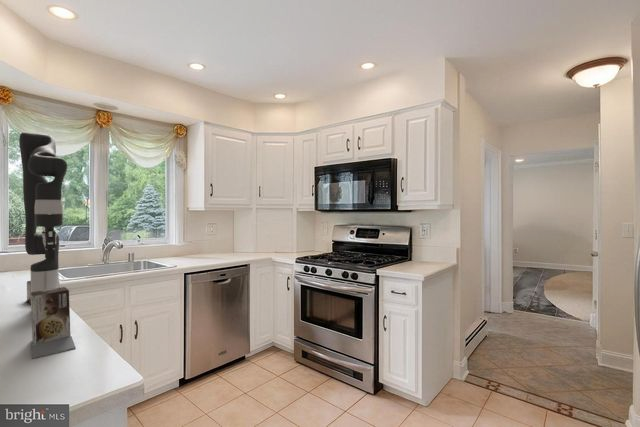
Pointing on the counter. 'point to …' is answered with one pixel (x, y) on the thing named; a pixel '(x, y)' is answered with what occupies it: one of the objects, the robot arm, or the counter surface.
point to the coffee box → (50, 314)
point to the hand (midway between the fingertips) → (49, 259)
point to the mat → (52, 347)
